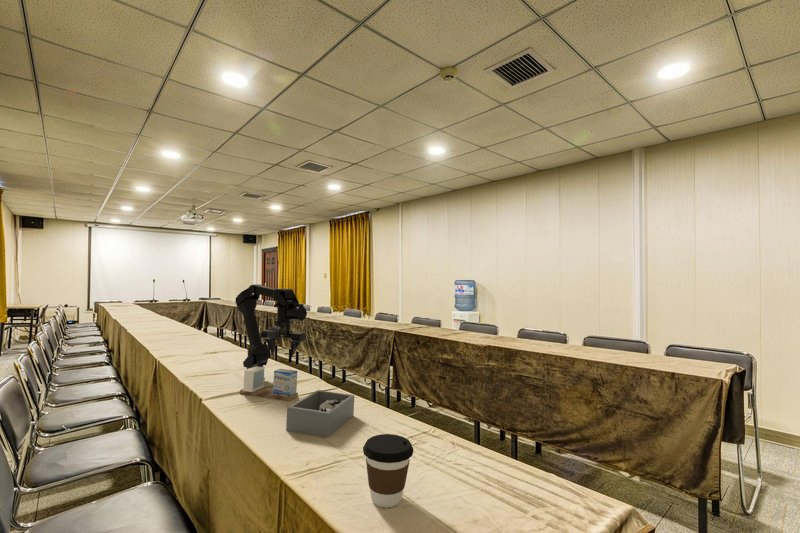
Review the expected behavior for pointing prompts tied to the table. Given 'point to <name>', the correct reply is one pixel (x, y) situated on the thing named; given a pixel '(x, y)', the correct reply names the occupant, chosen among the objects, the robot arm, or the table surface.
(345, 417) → the tray
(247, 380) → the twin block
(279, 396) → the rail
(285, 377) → the medicine box
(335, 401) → the camera
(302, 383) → the table surface
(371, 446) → the coffee cup
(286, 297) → the robot arm
